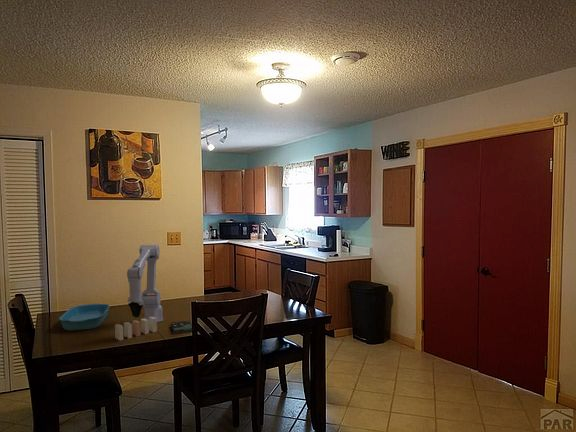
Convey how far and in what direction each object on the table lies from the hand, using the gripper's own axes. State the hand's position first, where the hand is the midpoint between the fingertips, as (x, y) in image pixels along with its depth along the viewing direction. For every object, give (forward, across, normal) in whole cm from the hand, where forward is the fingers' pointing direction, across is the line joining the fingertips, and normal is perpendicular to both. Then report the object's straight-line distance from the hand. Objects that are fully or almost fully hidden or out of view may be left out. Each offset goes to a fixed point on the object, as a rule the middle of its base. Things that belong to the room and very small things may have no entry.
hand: (136, 316), depth 214 cm
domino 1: (+9, 0, -9) cm, 13 cm away
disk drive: (+10, +9, +21) cm, 25 cm away
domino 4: (+9, 0, +4) cm, 10 cm away
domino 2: (+10, 0, -4) cm, 11 cm away
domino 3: (+9, 0, 0) cm, 9 cm away
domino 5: (+9, 0, +9) cm, 13 cm away
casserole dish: (+10, -43, -10) cm, 45 cm away
